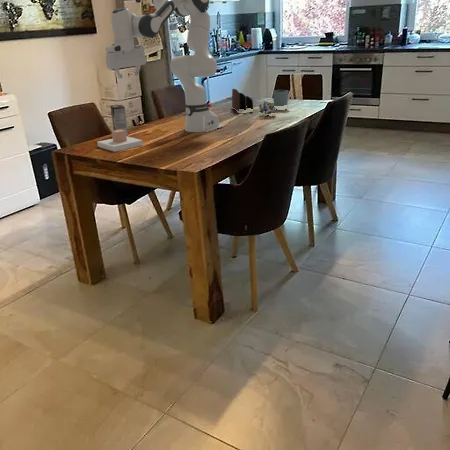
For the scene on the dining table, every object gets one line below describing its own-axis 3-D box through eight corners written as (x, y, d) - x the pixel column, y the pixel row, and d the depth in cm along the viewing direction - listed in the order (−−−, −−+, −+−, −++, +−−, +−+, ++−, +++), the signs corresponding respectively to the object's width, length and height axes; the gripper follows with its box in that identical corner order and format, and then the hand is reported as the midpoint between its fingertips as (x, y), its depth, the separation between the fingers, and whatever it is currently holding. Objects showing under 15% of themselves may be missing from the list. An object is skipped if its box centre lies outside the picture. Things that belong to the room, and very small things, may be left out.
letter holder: (238, 113, 303) (237, 91, 297) (232, 109, 321) (231, 87, 315) (253, 112, 305) (253, 90, 299) (246, 107, 322) (245, 86, 317)
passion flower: (271, 125, 290) (269, 112, 280) (256, 121, 295) (253, 107, 284) (279, 113, 294) (277, 98, 284) (264, 108, 299) (262, 94, 289)
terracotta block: (121, 139, 236) (120, 129, 234) (126, 140, 233) (125, 130, 231) (112, 141, 233) (111, 131, 231) (118, 142, 230) (116, 132, 228)
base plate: (125, 140, 244) (125, 135, 243) (143, 145, 233) (142, 140, 232) (97, 146, 234) (97, 141, 233) (114, 151, 223) (113, 146, 222)
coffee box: (113, 135, 257) (109, 105, 251) (125, 134, 259) (122, 104, 253) (116, 138, 249) (112, 107, 243) (128, 137, 251) (124, 106, 245)
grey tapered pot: (273, 110, 307) (273, 91, 302) (272, 108, 316) (272, 89, 312) (288, 110, 307) (289, 91, 302) (287, 107, 316) (287, 89, 311)
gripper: (139, 44, 229) (143, 73, 235) (102, 48, 217) (107, 79, 223) (146, 44, 225) (150, 74, 231) (109, 48, 213) (114, 80, 218)
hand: (128, 76), depth 227 cm, fingers open, 8 cm apart
